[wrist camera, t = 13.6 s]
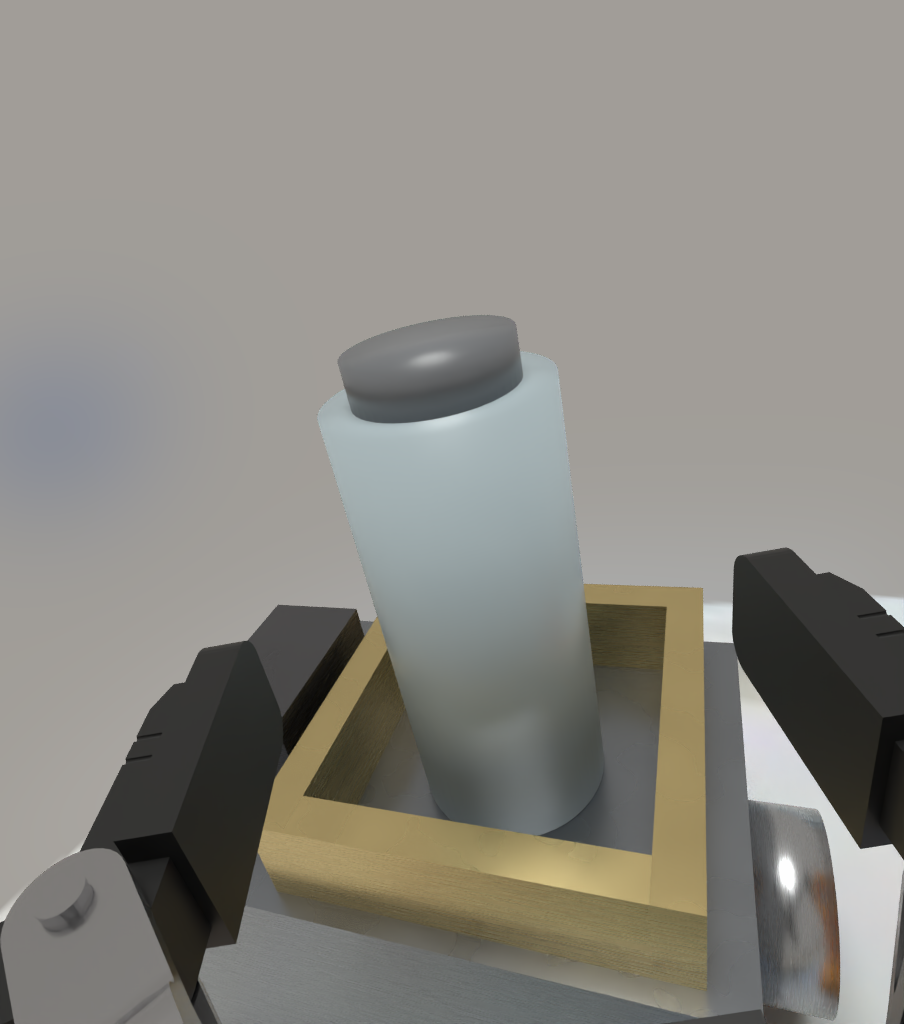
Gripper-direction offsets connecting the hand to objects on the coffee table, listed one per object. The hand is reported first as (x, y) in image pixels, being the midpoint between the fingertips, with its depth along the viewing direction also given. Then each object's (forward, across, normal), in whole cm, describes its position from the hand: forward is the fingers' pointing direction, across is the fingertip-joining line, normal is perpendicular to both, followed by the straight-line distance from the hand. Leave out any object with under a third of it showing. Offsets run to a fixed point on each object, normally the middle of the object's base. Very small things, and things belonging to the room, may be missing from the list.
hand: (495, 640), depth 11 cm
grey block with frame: (+5, +2, +17) cm, 18 cm away
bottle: (+5, 0, +8) cm, 9 cm away
